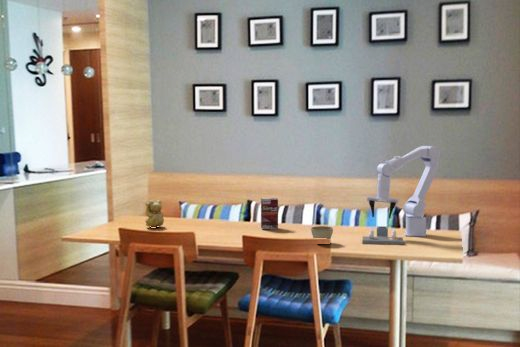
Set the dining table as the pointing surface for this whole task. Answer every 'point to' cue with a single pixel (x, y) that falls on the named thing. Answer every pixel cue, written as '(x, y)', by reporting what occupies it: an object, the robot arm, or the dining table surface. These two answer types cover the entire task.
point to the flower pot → (322, 232)
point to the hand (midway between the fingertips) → (381, 217)
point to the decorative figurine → (154, 214)
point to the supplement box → (269, 213)
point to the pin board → (382, 239)
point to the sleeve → (382, 231)
